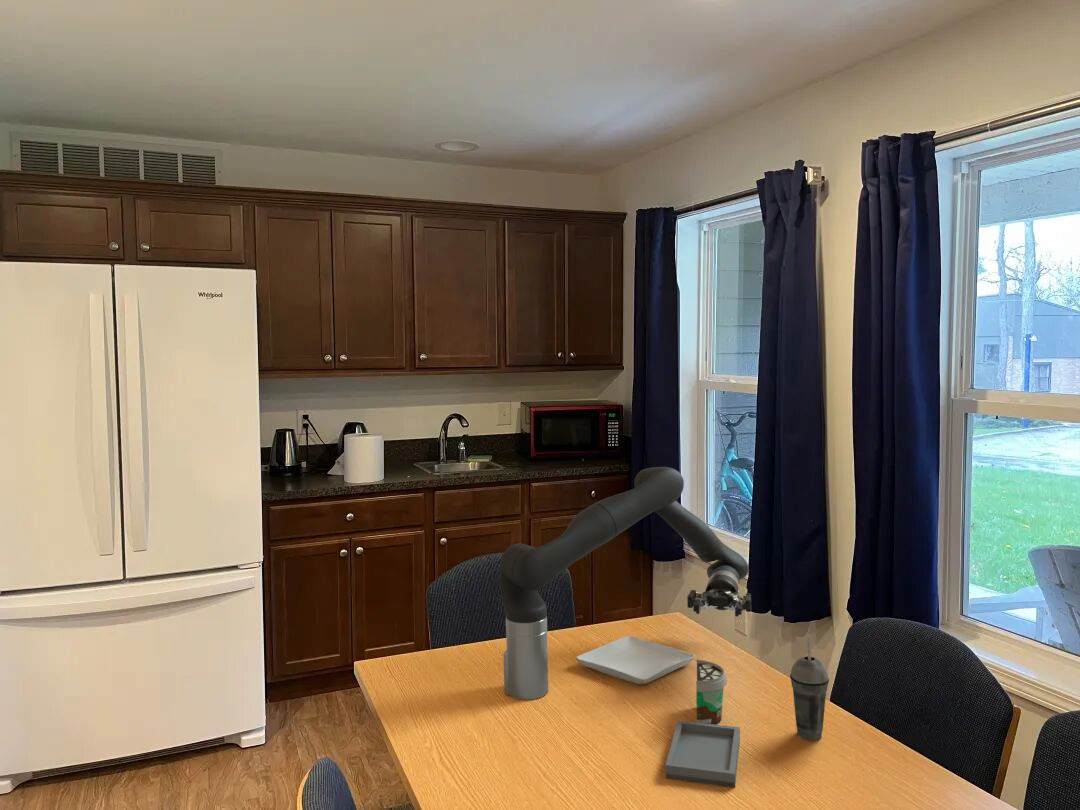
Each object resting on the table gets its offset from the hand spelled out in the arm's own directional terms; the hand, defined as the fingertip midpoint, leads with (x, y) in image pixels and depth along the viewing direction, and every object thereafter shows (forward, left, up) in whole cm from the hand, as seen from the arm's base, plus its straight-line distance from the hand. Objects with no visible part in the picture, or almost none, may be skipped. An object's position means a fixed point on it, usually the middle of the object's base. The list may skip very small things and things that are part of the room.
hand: (717, 610), depth 176 cm
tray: (0, -30, -18) cm, 36 cm away
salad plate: (-20, +10, -19) cm, 29 cm away
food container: (0, -13, -19) cm, 23 cm away
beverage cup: (+19, -16, -18) cm, 31 cm away
